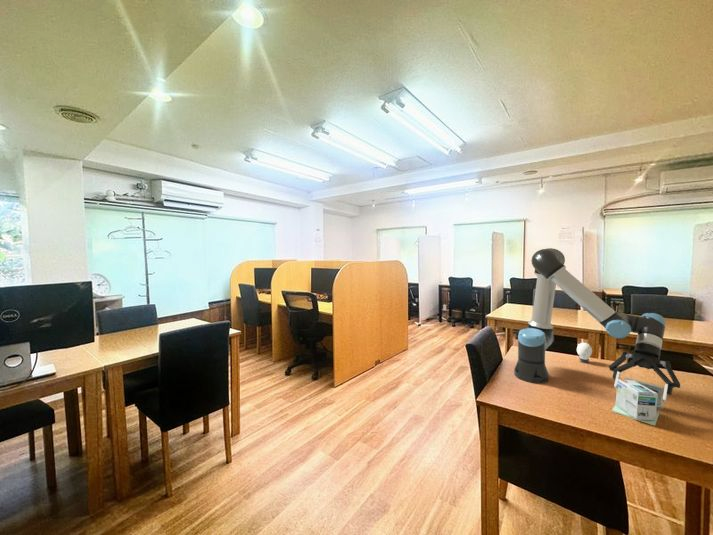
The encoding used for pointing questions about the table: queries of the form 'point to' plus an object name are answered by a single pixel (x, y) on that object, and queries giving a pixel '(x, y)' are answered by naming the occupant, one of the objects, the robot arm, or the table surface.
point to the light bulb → (584, 352)
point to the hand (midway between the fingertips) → (638, 394)
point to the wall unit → (654, 388)
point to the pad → (624, 413)
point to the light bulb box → (636, 399)
